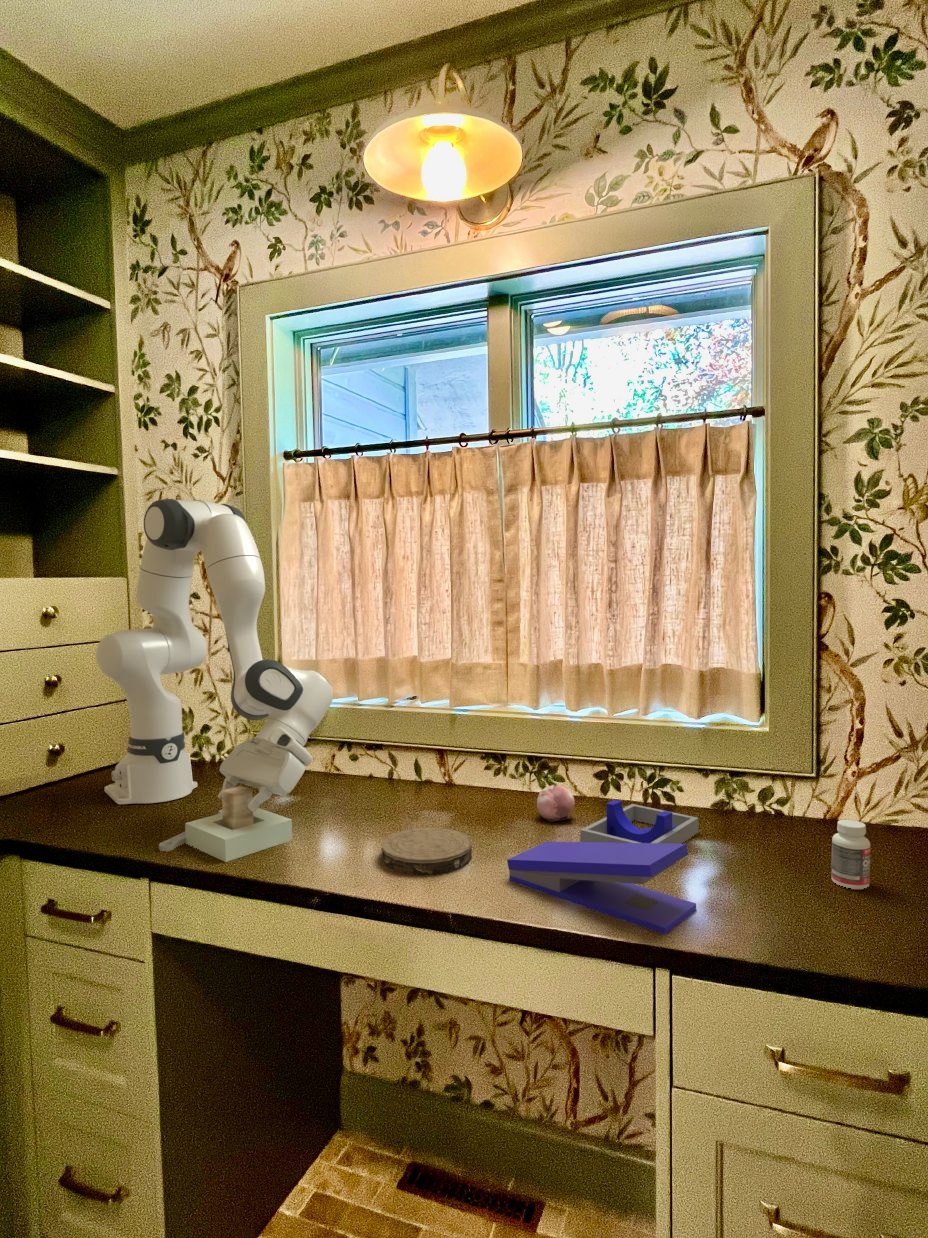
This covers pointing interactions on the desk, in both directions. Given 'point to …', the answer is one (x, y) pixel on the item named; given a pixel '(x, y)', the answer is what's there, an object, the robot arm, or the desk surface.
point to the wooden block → (236, 807)
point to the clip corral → (681, 833)
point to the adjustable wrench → (176, 840)
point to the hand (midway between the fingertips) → (235, 804)
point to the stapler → (606, 878)
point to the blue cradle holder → (625, 829)
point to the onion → (555, 803)
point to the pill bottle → (851, 855)
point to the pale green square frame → (238, 835)
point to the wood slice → (426, 851)
